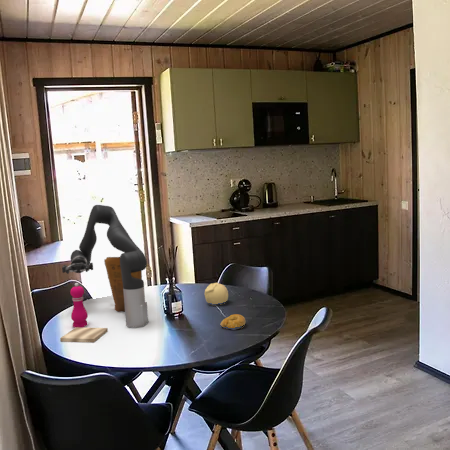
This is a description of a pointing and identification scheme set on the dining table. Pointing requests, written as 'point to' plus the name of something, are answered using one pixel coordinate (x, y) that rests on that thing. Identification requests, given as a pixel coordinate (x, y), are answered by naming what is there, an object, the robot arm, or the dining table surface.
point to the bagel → (233, 321)
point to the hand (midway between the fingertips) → (77, 270)
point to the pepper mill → (78, 307)
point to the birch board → (84, 334)
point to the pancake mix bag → (117, 281)
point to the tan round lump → (216, 293)
